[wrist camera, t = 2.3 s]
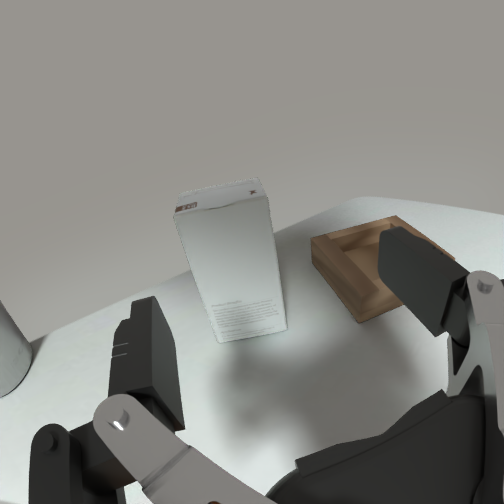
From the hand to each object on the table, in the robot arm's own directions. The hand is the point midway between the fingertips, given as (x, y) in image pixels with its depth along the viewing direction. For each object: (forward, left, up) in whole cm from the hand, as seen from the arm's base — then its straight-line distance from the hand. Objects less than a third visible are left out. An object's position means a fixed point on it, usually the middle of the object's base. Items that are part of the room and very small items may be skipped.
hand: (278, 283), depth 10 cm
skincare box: (0, +11, -13) cm, 17 cm away
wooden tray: (+14, +12, -12) cm, 22 cm away
